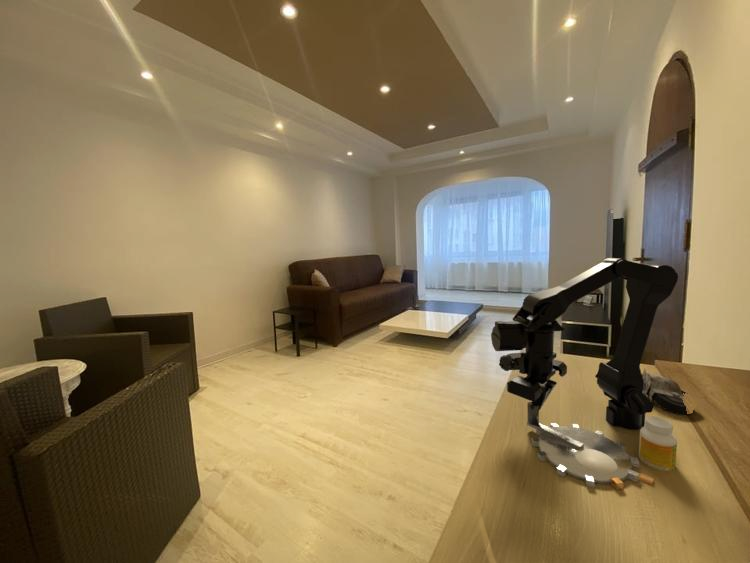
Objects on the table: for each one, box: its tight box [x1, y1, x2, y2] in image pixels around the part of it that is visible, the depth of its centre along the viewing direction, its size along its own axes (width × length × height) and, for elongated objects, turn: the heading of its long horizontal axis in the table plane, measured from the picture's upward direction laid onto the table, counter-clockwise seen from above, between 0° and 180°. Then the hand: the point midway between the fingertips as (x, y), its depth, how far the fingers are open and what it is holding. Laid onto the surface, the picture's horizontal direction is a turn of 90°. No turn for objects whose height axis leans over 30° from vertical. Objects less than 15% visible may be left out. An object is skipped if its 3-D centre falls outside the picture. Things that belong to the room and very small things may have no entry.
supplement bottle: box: [638, 415, 678, 472], centre depth 61 cm, size 5×5×10 cm
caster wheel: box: [642, 367, 688, 416], centre depth 83 cm, size 7×11×10 cm
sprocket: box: [526, 401, 640, 490], centre depth 65 cm, size 18×20×6 cm
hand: (537, 409), depth 75 cm, fingers closed
